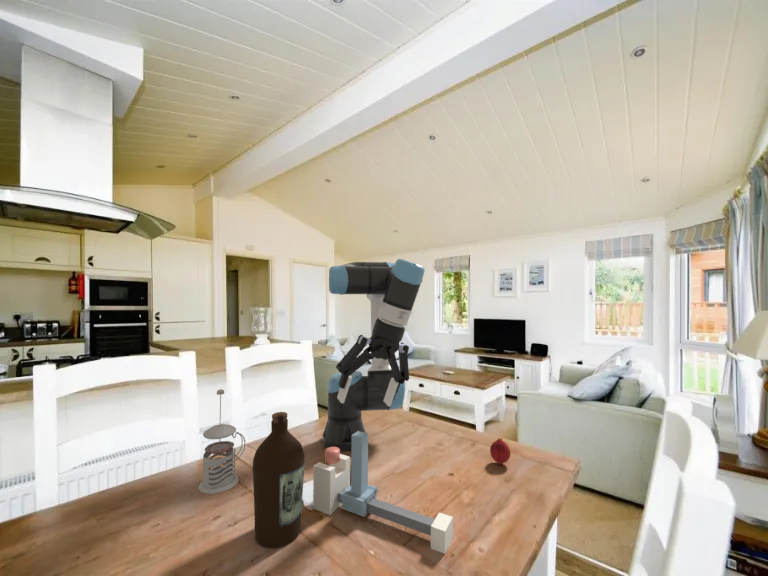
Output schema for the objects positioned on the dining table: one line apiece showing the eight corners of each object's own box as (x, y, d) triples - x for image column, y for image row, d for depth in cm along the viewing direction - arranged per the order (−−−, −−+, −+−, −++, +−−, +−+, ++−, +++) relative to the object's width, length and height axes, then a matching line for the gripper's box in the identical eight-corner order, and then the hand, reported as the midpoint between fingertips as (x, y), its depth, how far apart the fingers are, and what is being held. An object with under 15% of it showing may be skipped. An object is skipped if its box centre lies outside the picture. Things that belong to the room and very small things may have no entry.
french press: (192, 483, 91) (194, 389, 92) (235, 467, 100) (237, 381, 100) (206, 498, 84) (208, 397, 85) (251, 480, 93) (252, 387, 93)
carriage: (340, 509, 78) (341, 436, 78) (356, 495, 83) (356, 427, 84) (362, 518, 75) (363, 442, 75) (377, 502, 81) (377, 432, 81)
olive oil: (240, 539, 70) (242, 417, 71) (278, 510, 80) (280, 403, 80) (277, 558, 65) (279, 427, 66) (314, 525, 75) (315, 411, 75)
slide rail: (313, 508, 81) (313, 465, 81) (333, 491, 88) (334, 452, 88) (442, 559, 65) (442, 506, 66) (455, 533, 72) (455, 486, 73)
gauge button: (321, 461, 83) (321, 451, 83) (331, 455, 86) (331, 445, 86) (333, 465, 81) (333, 454, 81) (342, 459, 84) (342, 448, 84)
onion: (511, 470, 99) (511, 442, 99) (491, 467, 100) (491, 440, 100) (508, 460, 105) (508, 434, 105) (489, 458, 106) (489, 432, 106)
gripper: (353, 317, 74) (323, 407, 75) (438, 335, 87) (411, 412, 88) (340, 307, 80) (313, 390, 82) (421, 326, 93) (397, 398, 95)
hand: (364, 402), depth 85 cm, fingers open, 13 cm apart
